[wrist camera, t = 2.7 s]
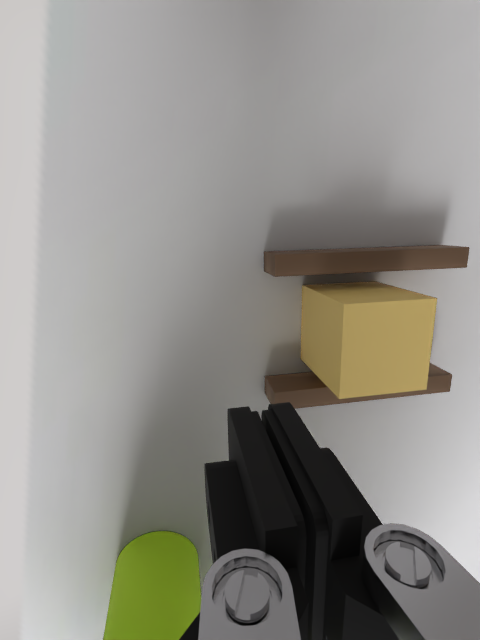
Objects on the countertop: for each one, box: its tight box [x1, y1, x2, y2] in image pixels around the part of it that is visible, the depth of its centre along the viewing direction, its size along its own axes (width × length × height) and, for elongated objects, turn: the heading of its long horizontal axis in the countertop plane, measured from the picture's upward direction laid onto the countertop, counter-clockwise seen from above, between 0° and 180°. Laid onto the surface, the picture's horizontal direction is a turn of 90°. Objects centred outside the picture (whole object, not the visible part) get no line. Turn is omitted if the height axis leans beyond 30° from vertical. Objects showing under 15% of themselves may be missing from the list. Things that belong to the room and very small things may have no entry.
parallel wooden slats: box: [264, 245, 469, 409], centre depth 23 cm, size 9×12×2 cm
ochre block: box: [301, 281, 437, 399], centre depth 21 cm, size 5×5×6 cm
